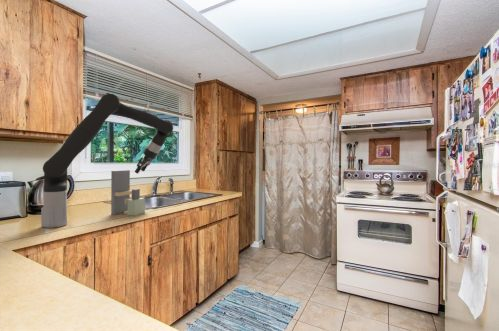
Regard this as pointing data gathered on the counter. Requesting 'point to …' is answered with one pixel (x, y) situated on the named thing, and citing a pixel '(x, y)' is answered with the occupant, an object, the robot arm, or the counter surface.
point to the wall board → (120, 190)
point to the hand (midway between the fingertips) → (139, 171)
